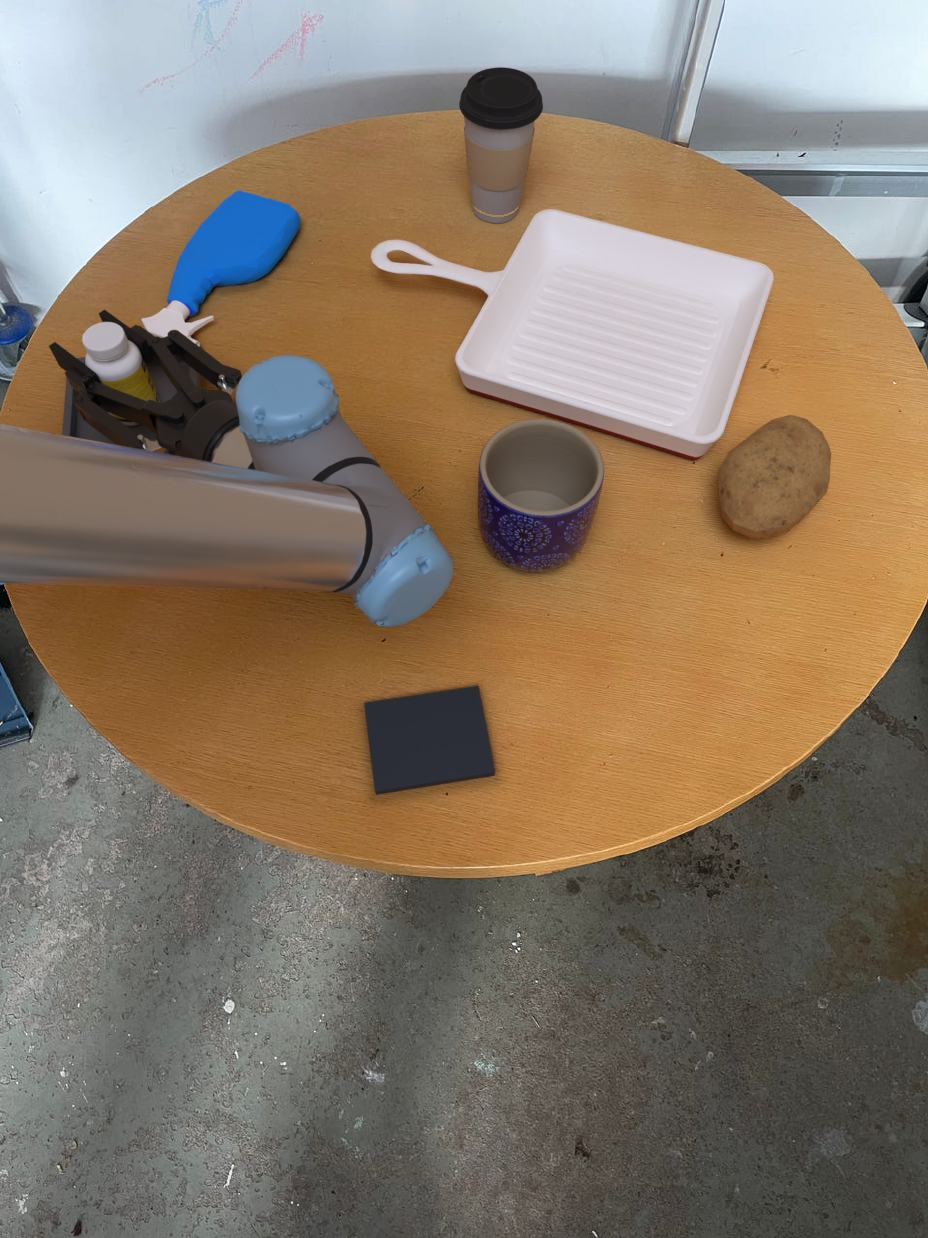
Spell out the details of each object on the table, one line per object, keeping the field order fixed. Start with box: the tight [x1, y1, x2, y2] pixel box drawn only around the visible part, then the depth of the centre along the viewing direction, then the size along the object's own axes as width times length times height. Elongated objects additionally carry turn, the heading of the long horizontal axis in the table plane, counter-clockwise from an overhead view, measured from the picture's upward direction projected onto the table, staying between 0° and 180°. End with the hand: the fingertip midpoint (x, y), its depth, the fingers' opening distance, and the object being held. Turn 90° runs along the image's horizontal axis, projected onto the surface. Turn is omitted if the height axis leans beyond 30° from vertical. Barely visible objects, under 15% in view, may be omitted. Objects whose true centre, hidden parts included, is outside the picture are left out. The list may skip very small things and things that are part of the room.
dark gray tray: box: [61, 355, 202, 445], centre depth 91 cm, size 14×14×2 cm
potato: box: [718, 414, 832, 539], centre depth 83 cm, size 10×14×8 cm
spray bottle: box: [140, 189, 302, 348], centre depth 101 cm, size 3×11×24 cm
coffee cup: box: [458, 66, 544, 224], centre depth 102 cm, size 9×9×15 cm
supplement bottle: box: [81, 321, 160, 426], centre depth 87 cm, size 5×5×10 cm
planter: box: [476, 418, 605, 573], centre depth 79 cm, size 11×11×11 cm
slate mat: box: [363, 685, 496, 796], centre depth 73 cm, size 10×8×1 cm
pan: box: [370, 208, 775, 461], centre depth 96 cm, size 28×44×5 cm, turn 68°
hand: (82, 337), depth 88 cm, fingers closed on supplement bottle, 5 cm apart
